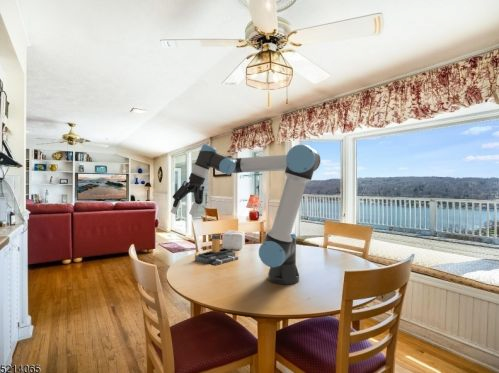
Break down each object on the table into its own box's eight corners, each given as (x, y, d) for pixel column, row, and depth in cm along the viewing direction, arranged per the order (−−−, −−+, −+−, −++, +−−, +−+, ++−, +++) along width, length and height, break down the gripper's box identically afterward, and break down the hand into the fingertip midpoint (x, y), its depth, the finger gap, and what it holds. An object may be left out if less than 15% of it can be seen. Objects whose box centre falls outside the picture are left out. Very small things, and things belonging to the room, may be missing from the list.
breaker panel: (222, 253, 184) (222, 247, 184) (235, 257, 176) (235, 250, 176) (195, 260, 168) (195, 253, 168) (208, 264, 160) (208, 257, 160)
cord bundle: (233, 257, 175) (233, 255, 175) (238, 259, 172) (238, 256, 172) (210, 263, 161) (210, 260, 161) (216, 265, 158) (216, 262, 158)
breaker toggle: (216, 252, 175) (216, 234, 175) (220, 253, 172) (221, 235, 172) (210, 253, 172) (210, 235, 172) (215, 254, 169) (215, 236, 169)
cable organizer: (245, 247, 205) (246, 231, 205) (242, 250, 194) (242, 233, 194) (226, 245, 208) (226, 230, 208) (221, 249, 198) (221, 232, 198)
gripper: (207, 176, 152) (193, 212, 153) (176, 167, 130) (159, 209, 131) (218, 181, 148) (202, 218, 149) (187, 172, 126) (169, 215, 128)
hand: (182, 214), depth 140 cm, fingers open, 13 cm apart
